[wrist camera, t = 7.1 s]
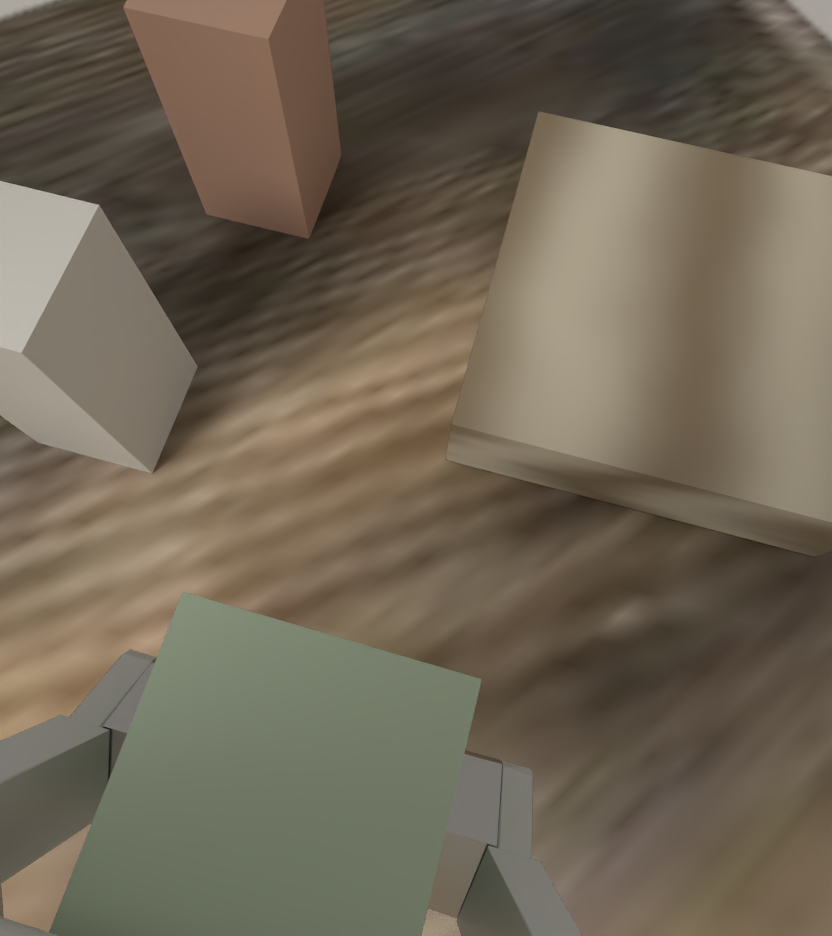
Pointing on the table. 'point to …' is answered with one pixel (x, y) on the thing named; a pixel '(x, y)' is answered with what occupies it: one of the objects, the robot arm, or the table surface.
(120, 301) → the off-white pillar
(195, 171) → the terracotta pillar
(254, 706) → the sage pillar
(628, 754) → the table surface
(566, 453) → the birch plinth
